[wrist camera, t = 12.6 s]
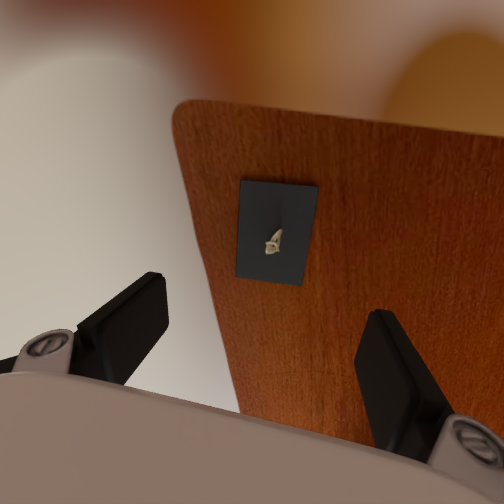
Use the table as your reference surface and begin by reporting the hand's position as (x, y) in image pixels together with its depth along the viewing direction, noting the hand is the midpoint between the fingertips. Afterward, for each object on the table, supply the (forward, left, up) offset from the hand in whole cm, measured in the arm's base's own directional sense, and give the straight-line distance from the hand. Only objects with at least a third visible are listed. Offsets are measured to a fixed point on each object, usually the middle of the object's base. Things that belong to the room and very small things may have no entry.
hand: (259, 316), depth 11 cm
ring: (0, 0, -13) cm, 13 cm away
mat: (0, 0, -13) cm, 13 cm away
